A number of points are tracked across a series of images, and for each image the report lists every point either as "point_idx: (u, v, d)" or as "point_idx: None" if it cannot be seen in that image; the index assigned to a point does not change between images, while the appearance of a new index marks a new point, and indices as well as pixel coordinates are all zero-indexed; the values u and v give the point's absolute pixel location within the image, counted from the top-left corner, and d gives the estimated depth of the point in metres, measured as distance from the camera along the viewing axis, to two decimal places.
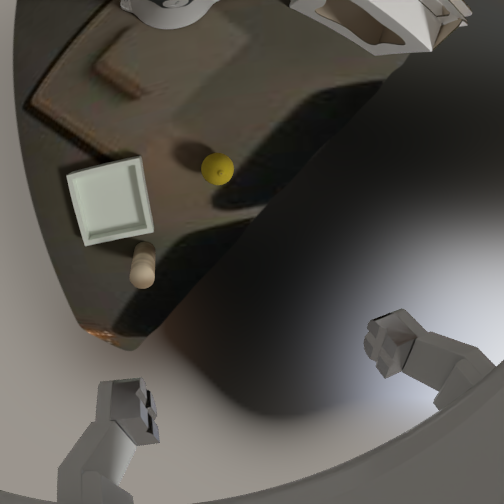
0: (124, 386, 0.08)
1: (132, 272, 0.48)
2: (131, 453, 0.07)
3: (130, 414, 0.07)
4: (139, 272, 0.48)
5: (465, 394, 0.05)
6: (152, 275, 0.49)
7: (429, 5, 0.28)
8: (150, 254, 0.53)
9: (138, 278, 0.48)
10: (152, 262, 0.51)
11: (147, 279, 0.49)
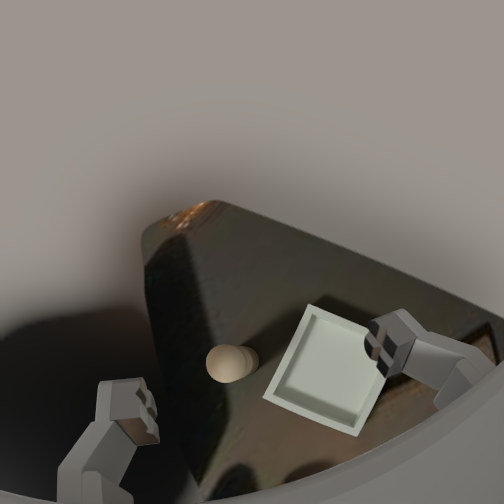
0: (124, 386, 0.08)
1: (241, 358, 0.31)
2: (131, 453, 0.07)
3: (130, 414, 0.07)
4: (234, 367, 0.31)
5: (465, 394, 0.05)
6: (218, 378, 0.31)
7: None
8: None
9: (227, 358, 0.32)
10: None
11: (217, 368, 0.31)
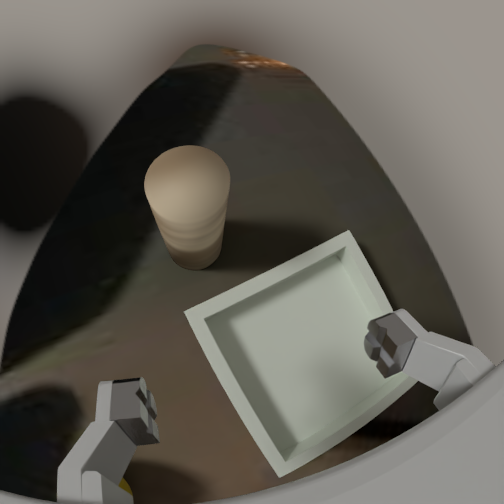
0: (124, 386, 0.08)
1: (223, 191, 0.15)
2: (131, 453, 0.07)
3: (130, 414, 0.07)
4: (198, 196, 0.14)
5: (465, 394, 0.05)
6: (152, 195, 0.14)
7: None
8: (177, 250, 0.19)
9: (199, 175, 0.15)
10: (164, 232, 0.17)
11: (167, 178, 0.14)
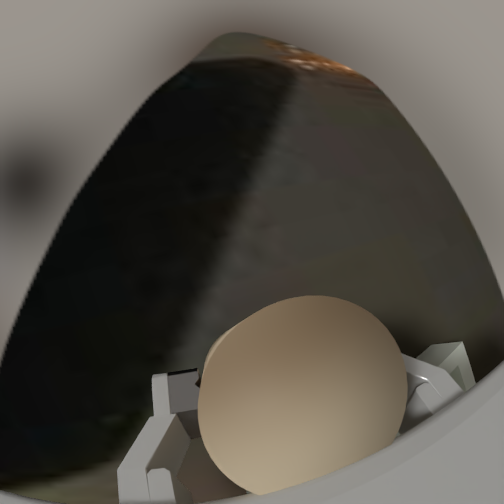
0: (180, 378, 0.08)
1: (393, 421, 0.05)
2: (186, 447, 0.07)
3: (192, 405, 0.07)
4: (344, 445, 0.05)
5: (465, 394, 0.05)
6: (227, 456, 0.04)
7: None
8: None
9: (346, 390, 0.05)
10: None
11: (264, 407, 0.05)
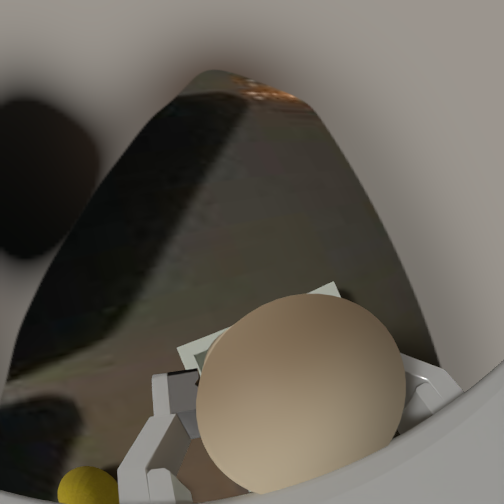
0: (180, 378, 0.08)
1: (392, 419, 0.05)
2: (186, 447, 0.07)
3: (192, 405, 0.07)
4: (343, 443, 0.05)
5: (465, 394, 0.05)
6: (225, 454, 0.04)
7: None
8: None
9: (344, 389, 0.05)
10: None
11: (262, 405, 0.05)
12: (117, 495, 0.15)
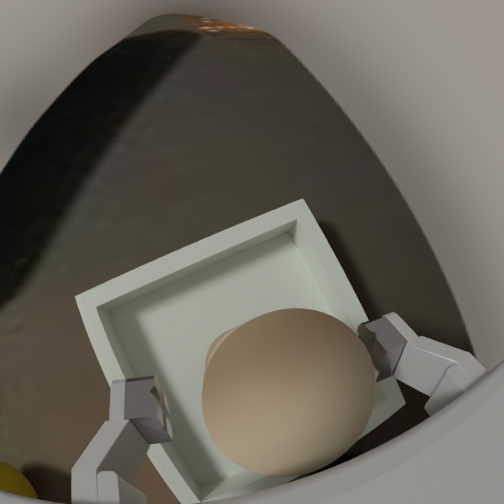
0: (138, 385, 0.08)
1: (363, 412, 0.06)
2: (144, 452, 0.07)
3: (145, 412, 0.07)
4: (321, 431, 0.06)
5: (465, 394, 0.05)
6: (224, 437, 0.06)
7: None
8: None
9: (321, 385, 0.07)
10: None
11: (254, 397, 0.06)
12: None
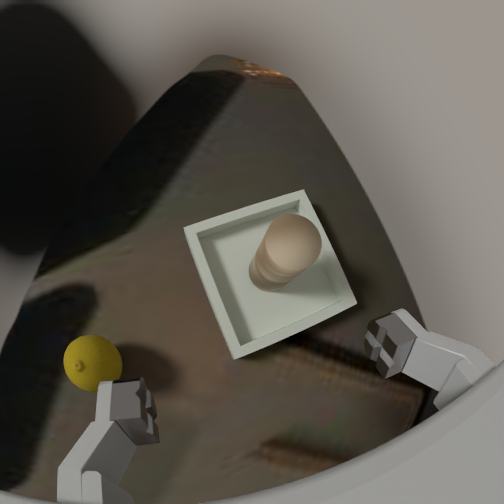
0: (124, 386, 0.08)
1: (317, 251, 0.22)
2: (131, 453, 0.07)
3: (130, 414, 0.07)
4: (302, 253, 0.22)
5: (465, 394, 0.05)
6: (272, 249, 0.22)
7: None
8: (267, 280, 0.27)
9: (302, 238, 0.22)
10: (266, 270, 0.25)
11: (281, 238, 0.22)
12: (118, 358, 0.24)
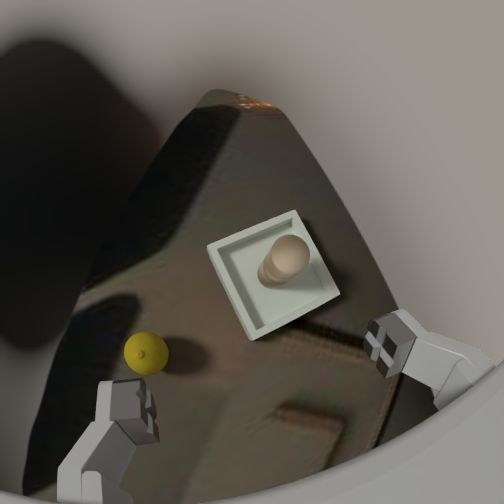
0: (124, 386, 0.08)
1: (307, 259, 0.33)
2: (131, 453, 0.07)
3: (130, 414, 0.07)
4: (297, 261, 0.33)
5: (465, 394, 0.05)
6: (276, 260, 0.32)
7: None
8: (273, 281, 0.37)
9: (296, 251, 0.33)
10: (272, 273, 0.35)
11: (282, 252, 0.33)
12: (166, 346, 0.34)
